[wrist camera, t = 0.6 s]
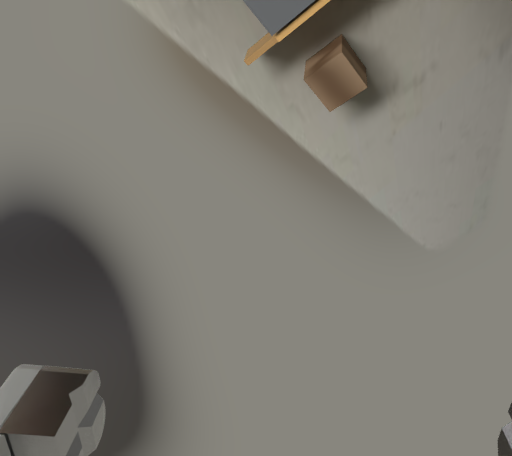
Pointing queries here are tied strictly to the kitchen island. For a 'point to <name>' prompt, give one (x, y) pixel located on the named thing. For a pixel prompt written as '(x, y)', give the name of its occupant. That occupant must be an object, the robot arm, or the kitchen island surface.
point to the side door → (282, 32)
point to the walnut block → (335, 74)
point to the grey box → (276, 12)
